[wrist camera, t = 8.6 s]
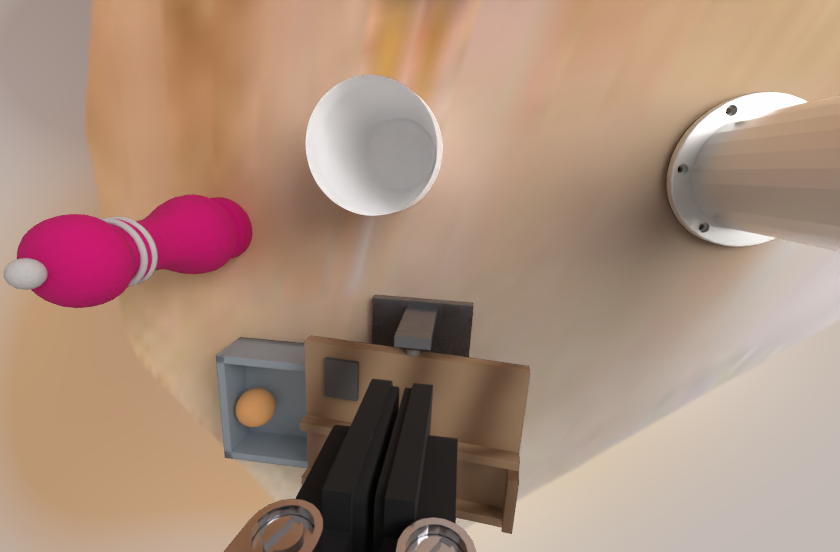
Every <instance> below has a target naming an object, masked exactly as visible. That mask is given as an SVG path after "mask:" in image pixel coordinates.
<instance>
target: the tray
mask: <svg viewBox="0 0 840 552" xmlns="http://www.w3.org/2000/svg"><path fill="white" fill-rule="evenodd" d="M529 377H530V369H529V366H525V365H518V364H511V363H504V362H497V361H489V360H482V359H475V358H468V357H461V356H454V355H446V354H439V353H432V352H425V351H420V349H413V348H406V349H403V348H396V347H389V346H382V345H375V344H368V343H361V342H353V341H346V340H339V339H332V338H325V337H318V336H310V337H309V338H307V339H306V340H305V380H306V416H305V417H304V418H303V419H302V420H301V422H300V430H302V431H307V459H308V468H307V470H306V471H305V473H304V474H303V476H302V484H303V483H304V482H305V480H306V478H307V476H308V474H309V472H310V470H311V468H312V466H313V464H314V462H315V460H316V458H317V456H318V455H319V453H320V451H321V449H322V447H323V445H324V443H325V441H326V439H327V437H328V435H329V433H330V431H331V430H332V428H333V427H334V425H345V426H351V424H352V422H353V419H354V417H355V415H356V413H357V411H358V408H359V406H360V404H361V402H362V400H363V397H364V395H365V393H366V391H367V388H368V386H369V384H370V382H371V380H372V379H381V380H391V381H392V382H393V386H397V387H399V389H400V391H399V407H400V403H401V400H402V396H403V393H404V389H405V387H406V388H412V386H413V383H420V384H430V385H433V399H432V414H431V429H430V435H432V436H441V437H450V438H458V448H457V484H456V518H460V519H465V520H470V521H474V522H479V523H484V524H488V525H493V526H497V527H502V532H505V533H510V534H512V529H513V522H514V514H515V507H516V500H517V493H518V485H519V472H518V471H519V464H520V460H519V450H520V443H521V436H522V428H523V421H524V414H525V406H526V399H527V391H528V384H529Z"/></svg>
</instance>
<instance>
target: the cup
mask: <svg viewBox="0 0 840 552" xmlns="http://www.w3.org/2000/svg"><path fill="white" fill-rule="evenodd" d="M306 155H307V160H308V164H309V167H310V170H311V173H312V175H313V177H314V179H315V181H316V183H317V184H318V186H319V187H320V189H321V190H322V191H323V192H324V193H325V194H326V195H327V196H328V197H329V198H330V199H331V200H332V201H333V202H334V203H336V204H337V205H339V206H340V207H342V208H344V209H346V210H348V211H351V212H353V213H357V214H361V215H368V216H378V215H385V214H391V213H396V212H399V211H402V210H405V209H407V208H409V207H411V206H413V205H414V204H416V203H417V202H418V201H419V200H421V199H422V198H423V197H424V196H425V195H426V194H427V192H428V191H429V190H430V188H431V187H432V185H433V184H434V182H435V180H436V178H437V176H438V173H439V170H440V167H441V162H442V155H443V144H442V136H441V132H440V128H439V125H438V122H437V120H436V118H435V116H434V114H433V113H432V111H431V109H430V108H429V107H428V105H427V104H426V103H425V102H424V101H423V100H422V99H421V98H420V97H419V96H418V95H417V94H415V93H414V92H413V91H412V90H411V89H409V88H408V87H406V86H405V85H403V84H402V83H400V82H398V81H396V80H394V79H391V78H388V77H384V76H379V75H361V76H356V77H352V78H349V79H346V80H344V81H342V82H340V83H338V84H337V85H335V86H334V87H332V88H331V89H330V90H329V91H328V92H327V93H326V94H325V95H324V96H323V97H322V98H321V99H320V101H319V102H318V103H317V105H316V107H315V108H314V110H313V112H312V115H311V117H310V120H309V123H308V127H307V132H306Z"/></svg>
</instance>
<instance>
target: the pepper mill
mask: <svg viewBox="0 0 840 552" xmlns="http://www.w3.org/2000/svg"><path fill="white" fill-rule="evenodd" d="M251 236H252V228H251V223H250V221H249V218H248V216H247V214H246V213H245V211H244V210H243V209H242V208H241V207H240V206H239V205H238V204H236V203H235V202H233V201H231V200H229V199H226V198H219V197H217V198H207V197H204V196H200V195H184V196H179V197H175V198H173V199H170V200H168V201H166V202H165V203H163V204H161V205H160V206H158V207H157V208H156V209H155V210H154V211H153V212H152V213H151V214H150V215H148V216H147V217H146V218H145V219H143V220H140V221H134V220H131V219H129V218H125V217H110V218H101V219H98V218H96V217H91V216H88V215H78V214H71V215H61V216H57V217H53V218H50V219H47V220H44V221H42V222H40V223H39V224H37V225H35V226H34V227H33V228H31V229H30V230H29V231H28V232H27V233H26V234H25V235H24V236H23V238H22V240H21V242H20V244H19V247H18V252H17V260H14V261H12V262H11V263H9V264H8V265H7V266H6V267H5V269H4V278H5V280H6V281H7V283H8V284H10V285H11V286H13V287H15V288H19V289H26V290H27V289H31V290H32V291H33V292H34V293H35V294H37V295H38V296H40V297H41V298H43V299H44V300H46V301H48V302H51V303H53V304H57V305H60V306H64V307H73V308H82V307H92V306H96V305H100V304H104V303H106V302H108V301H111V300H113V299H114V298H116V297H117V296H119V295H120V294H121V293H123V292H124V290H125V289H126V288H127V287H130V286H133V285H135V284H139V283H142V282H144V281H146V280H147V279H148V278H149V277H150V276H151V275H152V274H153V273H154V271H155V270H159V269H166V270H171V271H175V272H179V273H186V274H201V273H206V272H211V271H214V270H217V269H219V268H220V267H222V266H223V265H225V264H226V263H227V262H228V261H229V259H231V258H234V257H237V256H239V255H240V254H242V253H243V252H244V251H245V250H246V249H247V247H248V246H249V244H250V241H251Z"/></svg>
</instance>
